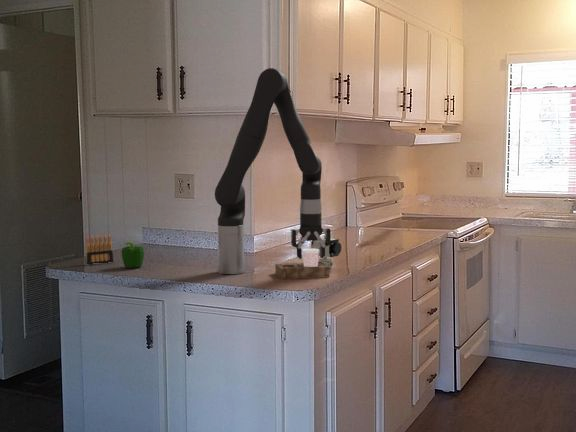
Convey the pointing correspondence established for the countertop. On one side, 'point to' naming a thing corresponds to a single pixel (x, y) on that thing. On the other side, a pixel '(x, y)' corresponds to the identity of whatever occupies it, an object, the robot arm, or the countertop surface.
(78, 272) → the countertop surface
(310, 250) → the beverage cup
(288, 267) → the socket block
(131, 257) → the bell pepper
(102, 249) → the ammunition clip
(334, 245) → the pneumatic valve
